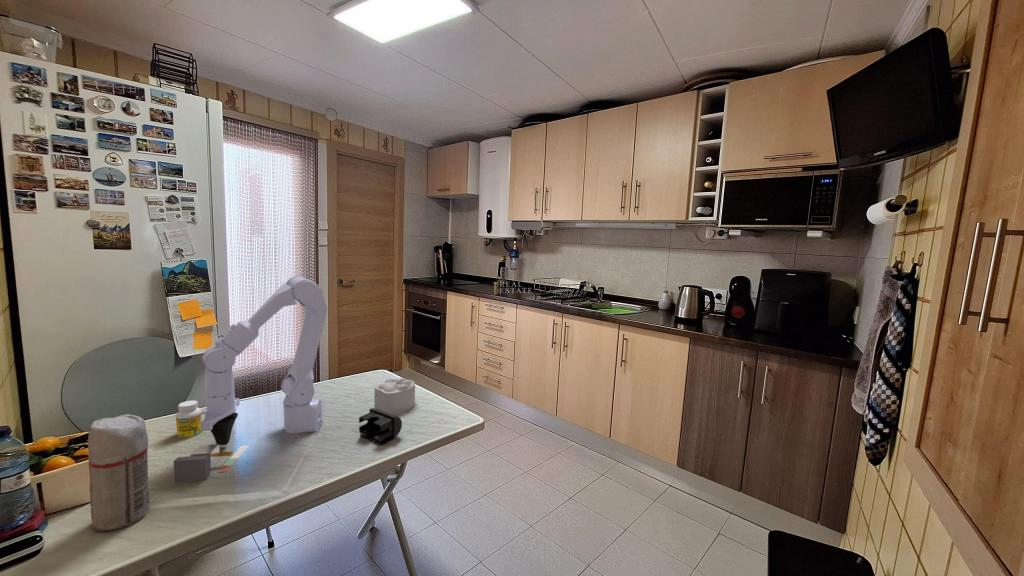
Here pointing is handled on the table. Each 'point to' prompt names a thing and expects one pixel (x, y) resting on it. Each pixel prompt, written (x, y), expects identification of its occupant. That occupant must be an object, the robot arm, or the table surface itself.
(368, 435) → the end cap
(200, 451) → the grey block
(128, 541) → the table surface
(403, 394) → the lumpy-topped squat cylinder
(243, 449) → the gauge board
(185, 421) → the supplement bottle
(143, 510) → the paper flour sack
